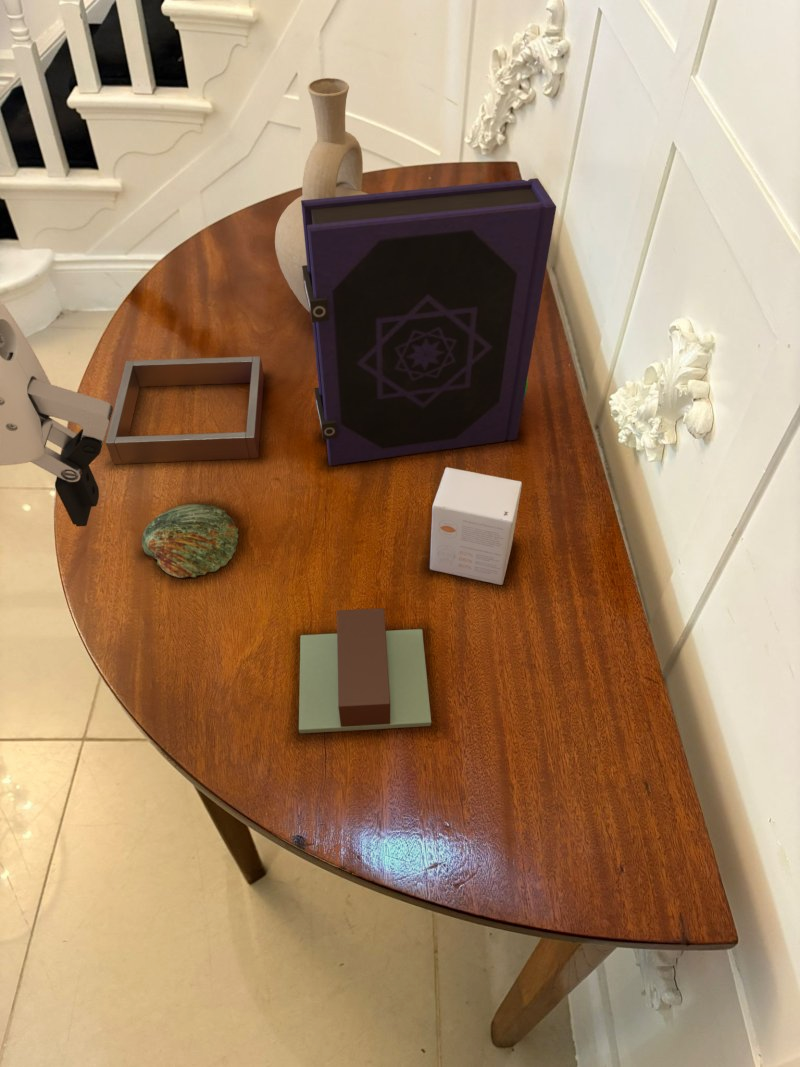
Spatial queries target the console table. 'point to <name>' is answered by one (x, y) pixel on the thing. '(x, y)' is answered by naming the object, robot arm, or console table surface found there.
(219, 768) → the console table surface
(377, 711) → the brown rectangular block
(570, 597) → the console table surface
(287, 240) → the vase
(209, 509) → the seashell
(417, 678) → the mat
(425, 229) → the book
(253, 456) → the rectangular frame
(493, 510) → the small box
